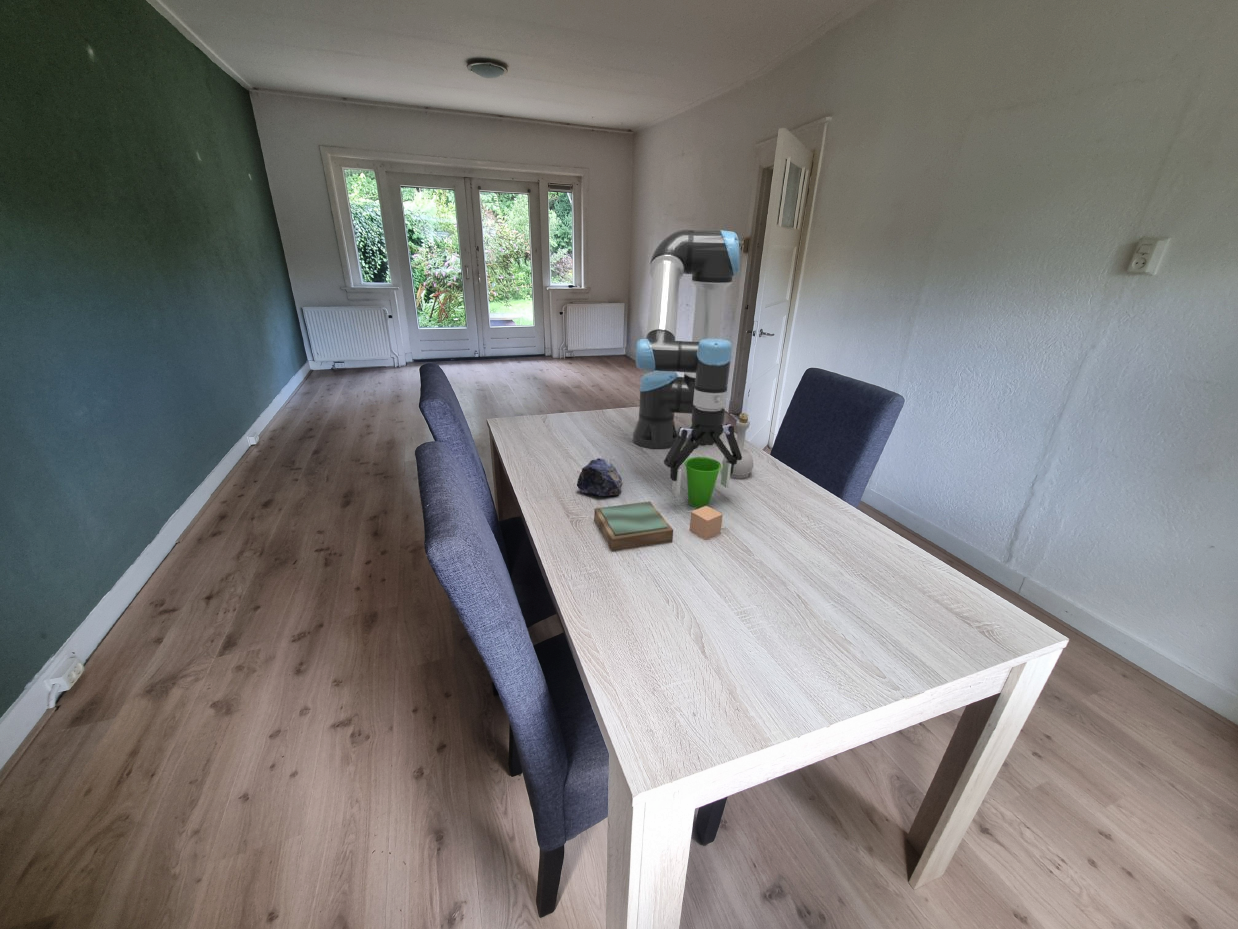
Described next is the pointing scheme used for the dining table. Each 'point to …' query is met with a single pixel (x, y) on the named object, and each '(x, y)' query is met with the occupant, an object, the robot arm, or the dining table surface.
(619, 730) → the dining table surface
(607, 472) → the rock
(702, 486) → the cup
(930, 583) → the dining table surface
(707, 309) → the robot arm
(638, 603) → the dining table surface
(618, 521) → the tray
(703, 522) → the terracotta block
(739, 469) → the potion bottle
